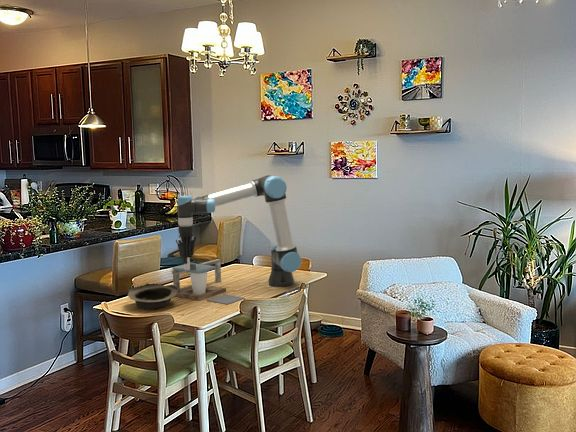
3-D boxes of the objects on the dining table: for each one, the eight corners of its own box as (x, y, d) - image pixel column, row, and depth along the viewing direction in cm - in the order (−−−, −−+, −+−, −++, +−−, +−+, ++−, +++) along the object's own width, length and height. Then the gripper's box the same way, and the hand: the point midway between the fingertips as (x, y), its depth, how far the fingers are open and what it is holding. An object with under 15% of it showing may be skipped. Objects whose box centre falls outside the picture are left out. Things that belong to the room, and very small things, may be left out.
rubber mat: (244, 298, 289) (244, 297, 289) (227, 304, 277) (227, 303, 277) (224, 294, 296) (224, 294, 296) (207, 300, 285) (206, 299, 285)
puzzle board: (245, 285, 318) (244, 262, 316) (198, 300, 285) (197, 275, 284) (216, 280, 330) (216, 258, 328) (168, 295, 298) (168, 270, 296)
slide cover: (215, 268, 298) (215, 260, 298) (197, 273, 287) (197, 265, 286) (190, 265, 308) (190, 257, 308) (172, 269, 297) (172, 261, 296)
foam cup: (209, 292, 301) (209, 269, 300) (205, 297, 292) (205, 273, 291) (193, 292, 302) (192, 269, 301) (188, 296, 293) (187, 273, 292)
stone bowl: (157, 296, 295) (157, 279, 293) (187, 307, 279) (188, 290, 278) (117, 305, 276) (117, 288, 274) (147, 318, 260) (148, 299, 259)
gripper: (189, 223, 293) (190, 266, 296) (171, 226, 282) (173, 271, 285) (199, 224, 289) (201, 268, 292) (181, 227, 278) (183, 272, 281)
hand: (187, 269), depth 288 cm, fingers closed
